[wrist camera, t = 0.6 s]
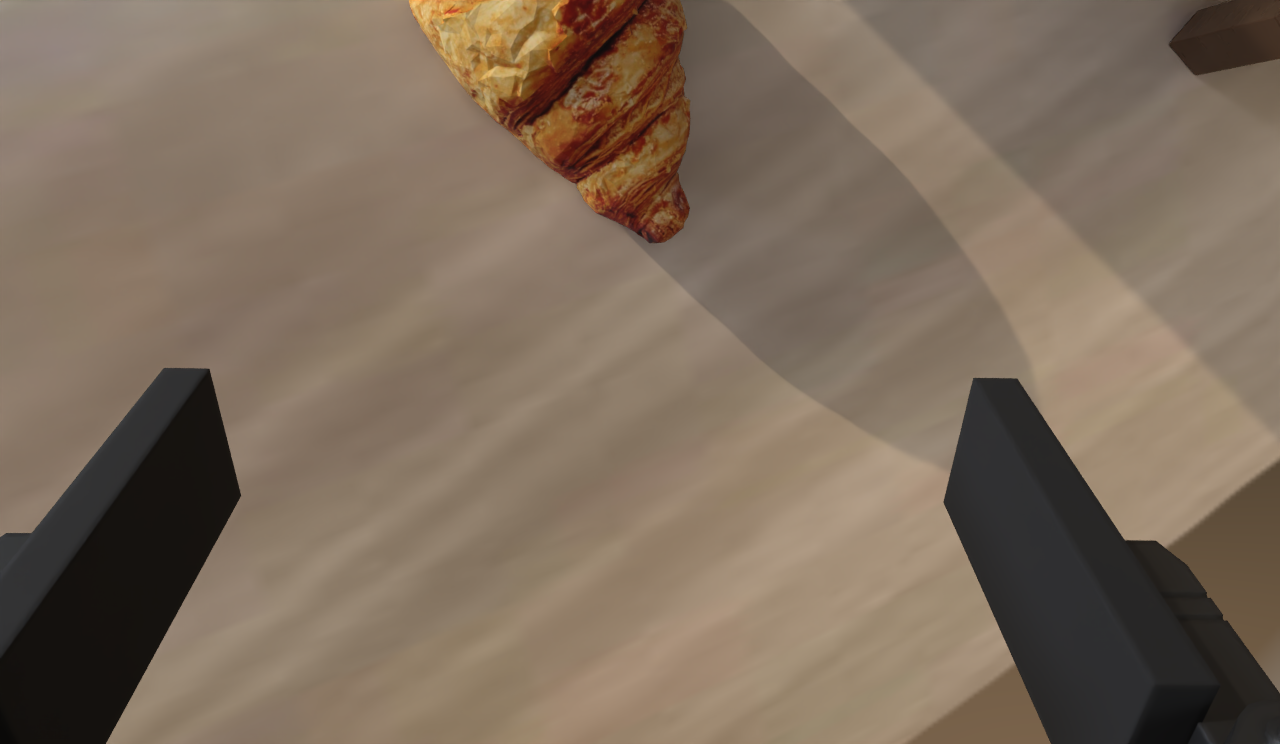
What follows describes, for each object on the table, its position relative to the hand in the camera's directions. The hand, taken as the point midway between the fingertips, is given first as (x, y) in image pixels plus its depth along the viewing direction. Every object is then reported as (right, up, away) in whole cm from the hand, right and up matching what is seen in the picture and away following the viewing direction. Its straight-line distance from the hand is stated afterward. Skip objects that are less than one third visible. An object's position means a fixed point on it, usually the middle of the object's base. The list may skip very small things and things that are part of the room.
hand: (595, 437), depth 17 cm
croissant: (-3, +16, +21) cm, 27 cm away
